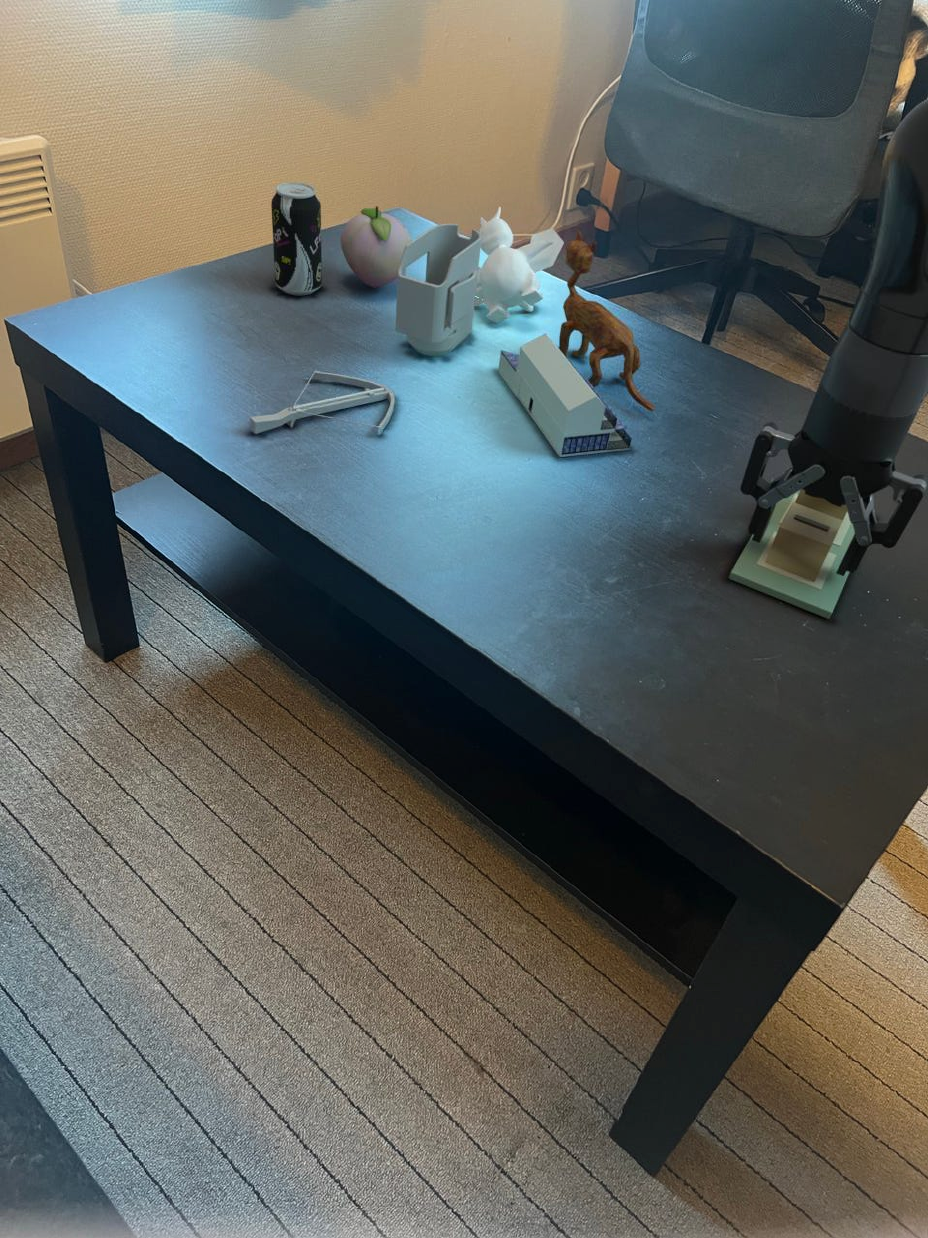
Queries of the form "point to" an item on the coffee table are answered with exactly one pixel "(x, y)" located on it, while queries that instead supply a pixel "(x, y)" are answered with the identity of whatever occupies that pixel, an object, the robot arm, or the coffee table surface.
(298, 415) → the crossbow
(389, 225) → the decorative fruit
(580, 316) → the cat figurine
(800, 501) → the light wooden cube
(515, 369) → the building
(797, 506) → the tan cube
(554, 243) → the character figurine
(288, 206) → the beverage can
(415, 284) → the cable organizer
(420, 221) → the coffee table surface
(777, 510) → the word board
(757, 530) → the robot arm
